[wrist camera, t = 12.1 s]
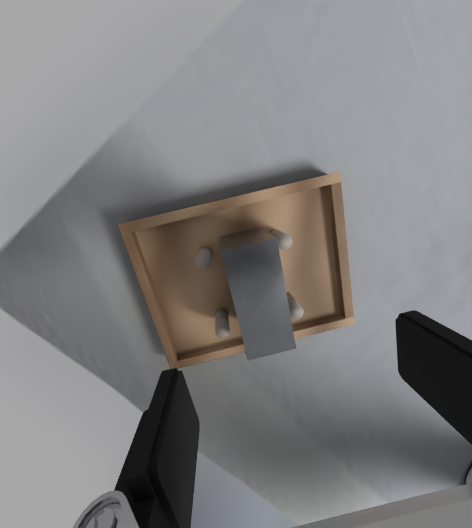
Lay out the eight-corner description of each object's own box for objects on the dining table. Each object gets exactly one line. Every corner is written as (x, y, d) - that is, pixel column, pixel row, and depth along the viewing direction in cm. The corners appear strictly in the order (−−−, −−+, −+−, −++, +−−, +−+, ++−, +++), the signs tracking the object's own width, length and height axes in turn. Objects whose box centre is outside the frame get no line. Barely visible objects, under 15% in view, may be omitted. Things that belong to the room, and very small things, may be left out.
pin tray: (328, 174, 20) (355, 167, 16) (343, 314, 24) (369, 336, 20) (126, 222, 20) (104, 227, 16) (174, 356, 24) (166, 388, 20)
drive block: (258, 227, 20) (276, 237, 14) (275, 309, 22) (296, 348, 16) (219, 236, 20) (220, 251, 14) (239, 318, 22) (247, 360, 16)
